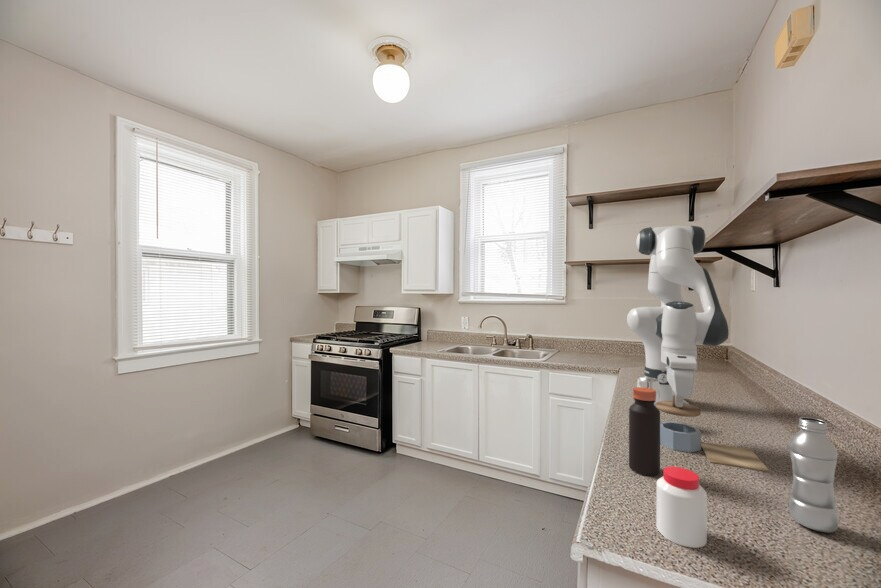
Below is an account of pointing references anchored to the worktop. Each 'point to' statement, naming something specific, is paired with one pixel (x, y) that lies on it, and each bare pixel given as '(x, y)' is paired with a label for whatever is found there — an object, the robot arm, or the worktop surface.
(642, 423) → the vinegar
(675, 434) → the bowl
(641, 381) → the beer glass
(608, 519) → the worktop surface
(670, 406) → the lid
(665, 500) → the pill bottle
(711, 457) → the tan flat square piece
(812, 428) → the plastic bottle
